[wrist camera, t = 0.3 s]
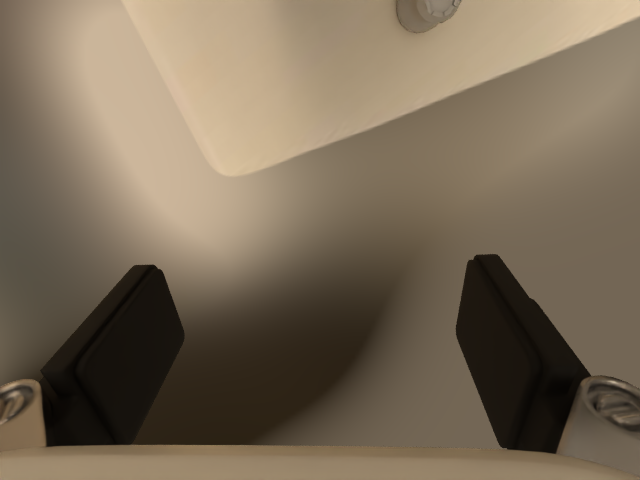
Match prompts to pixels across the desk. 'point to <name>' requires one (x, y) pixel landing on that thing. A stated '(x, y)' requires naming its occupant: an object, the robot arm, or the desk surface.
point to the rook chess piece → (425, 13)
